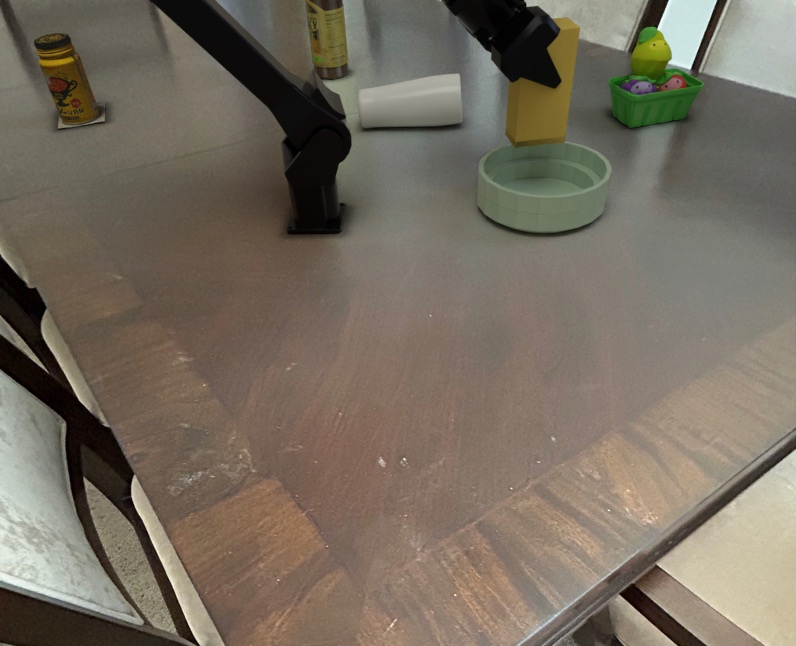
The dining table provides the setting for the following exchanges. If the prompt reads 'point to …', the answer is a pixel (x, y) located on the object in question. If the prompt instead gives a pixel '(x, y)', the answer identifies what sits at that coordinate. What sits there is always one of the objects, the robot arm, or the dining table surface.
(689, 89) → the fruit basket
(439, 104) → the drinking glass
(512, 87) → the sponge
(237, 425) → the dining table surface
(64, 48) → the condiment
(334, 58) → the sauce bottle
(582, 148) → the bowl
